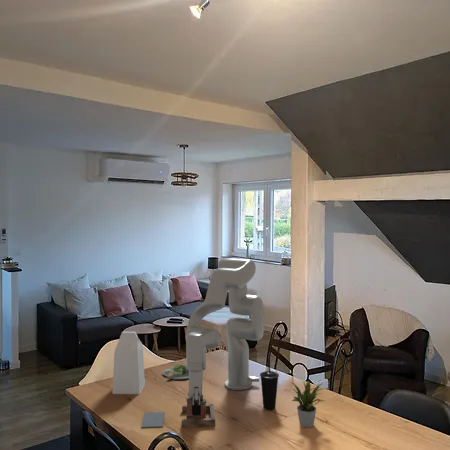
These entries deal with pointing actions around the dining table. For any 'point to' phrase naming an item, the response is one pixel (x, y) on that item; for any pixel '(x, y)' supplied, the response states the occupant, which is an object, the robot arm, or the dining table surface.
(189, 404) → the lighter
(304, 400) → the house plant
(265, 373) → the drinking cup
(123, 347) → the milk
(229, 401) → the dining table surface
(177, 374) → the salad plate
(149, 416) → the grey mat
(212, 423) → the walnut stand
